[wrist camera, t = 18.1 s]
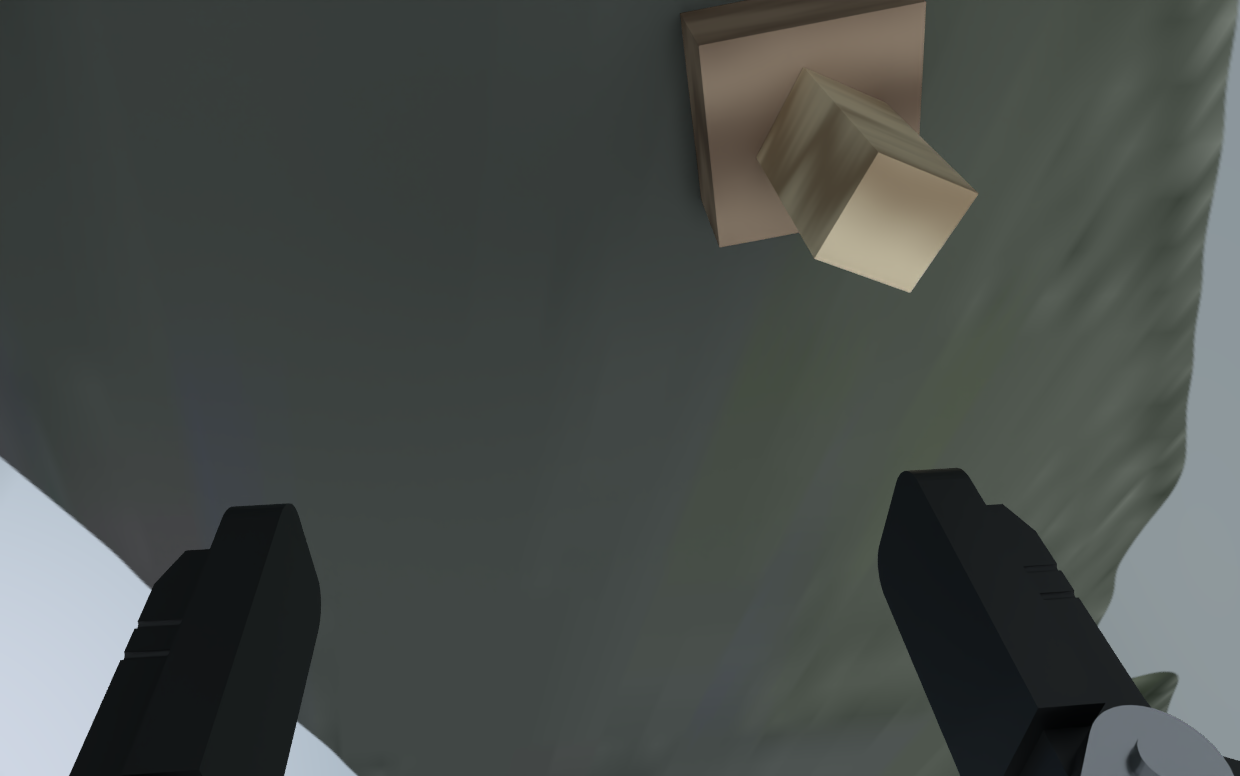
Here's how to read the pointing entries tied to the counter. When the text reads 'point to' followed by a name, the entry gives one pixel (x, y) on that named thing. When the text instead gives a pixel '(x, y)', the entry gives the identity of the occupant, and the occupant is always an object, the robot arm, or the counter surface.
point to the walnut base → (785, 88)
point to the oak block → (861, 182)
